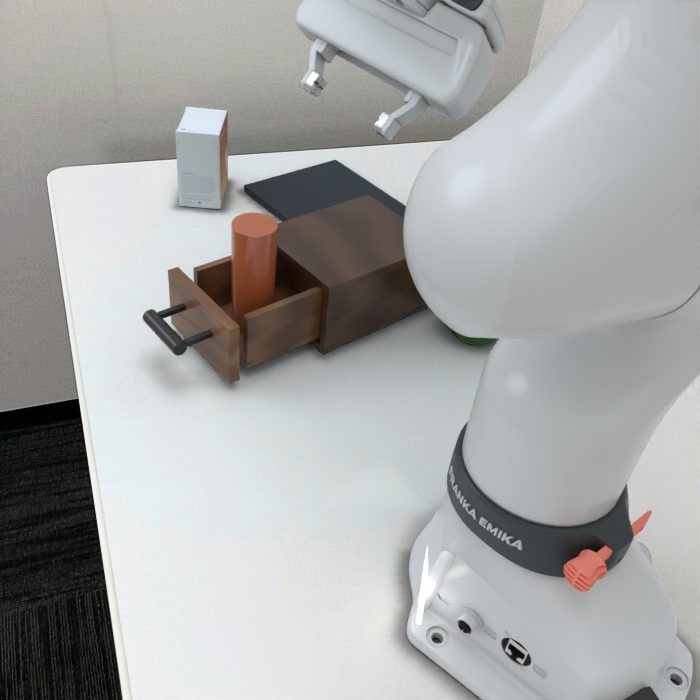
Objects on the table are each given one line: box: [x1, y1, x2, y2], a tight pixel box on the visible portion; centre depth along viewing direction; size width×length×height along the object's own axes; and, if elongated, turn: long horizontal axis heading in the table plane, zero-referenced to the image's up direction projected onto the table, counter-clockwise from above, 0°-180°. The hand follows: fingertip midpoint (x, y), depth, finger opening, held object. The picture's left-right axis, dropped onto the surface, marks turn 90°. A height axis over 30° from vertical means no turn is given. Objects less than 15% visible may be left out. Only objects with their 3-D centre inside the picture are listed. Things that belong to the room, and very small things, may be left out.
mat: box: [243, 159, 406, 222], centre depth 105 cm, size 20×16×1 cm
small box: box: [174, 106, 229, 210], centre depth 101 cm, size 8×6×10 cm
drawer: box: [142, 252, 324, 385], centre depth 79 cm, size 19×11×7 cm, turn 129°
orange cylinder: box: [230, 212, 278, 334], centre depth 77 cm, size 4×4×12 cm
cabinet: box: [277, 195, 429, 355], centre depth 86 cm, size 16×13×9 cm
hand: (343, 112), depth 73 cm, fingers open, 8 cm apart
